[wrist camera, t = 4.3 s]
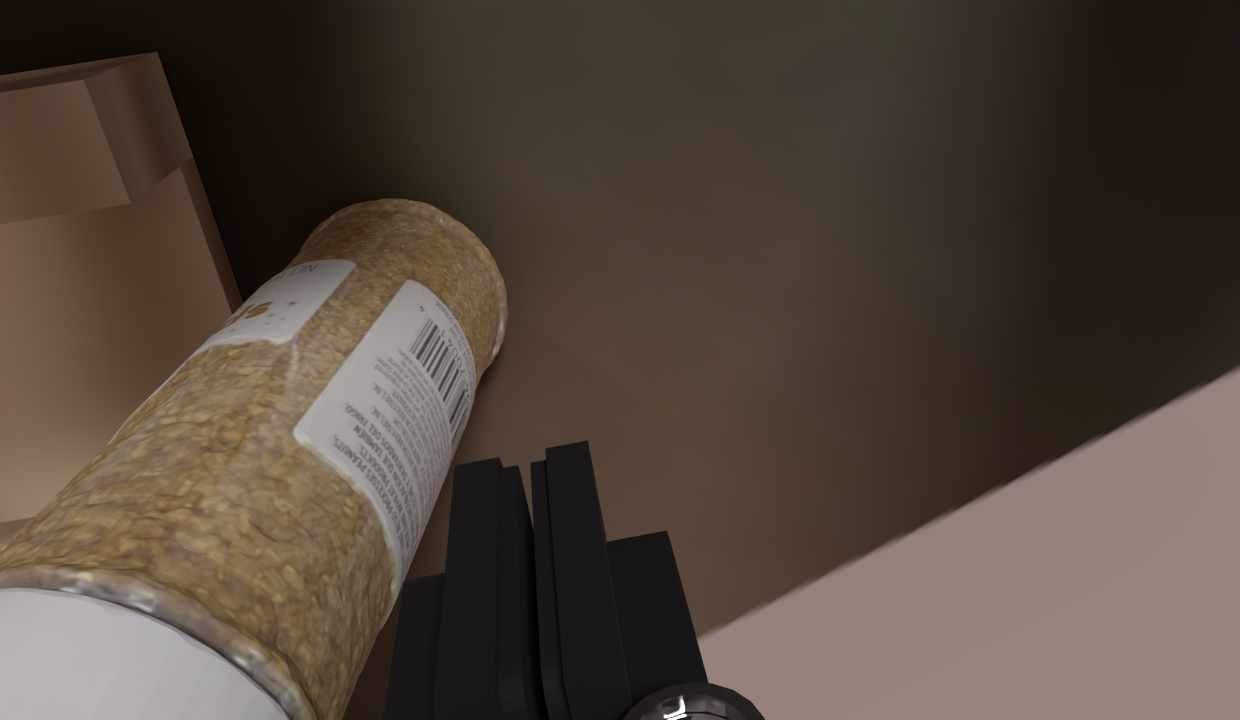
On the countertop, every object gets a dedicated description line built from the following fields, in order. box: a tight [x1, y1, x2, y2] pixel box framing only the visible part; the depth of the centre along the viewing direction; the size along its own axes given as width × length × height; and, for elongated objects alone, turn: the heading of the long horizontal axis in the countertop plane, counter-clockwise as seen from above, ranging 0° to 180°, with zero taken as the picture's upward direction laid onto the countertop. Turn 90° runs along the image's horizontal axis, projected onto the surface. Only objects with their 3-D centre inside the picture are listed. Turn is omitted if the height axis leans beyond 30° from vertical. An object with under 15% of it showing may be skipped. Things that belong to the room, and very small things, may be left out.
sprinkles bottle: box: [0, 198, 508, 720], centre depth 14 cm, size 5×5×13 cm
